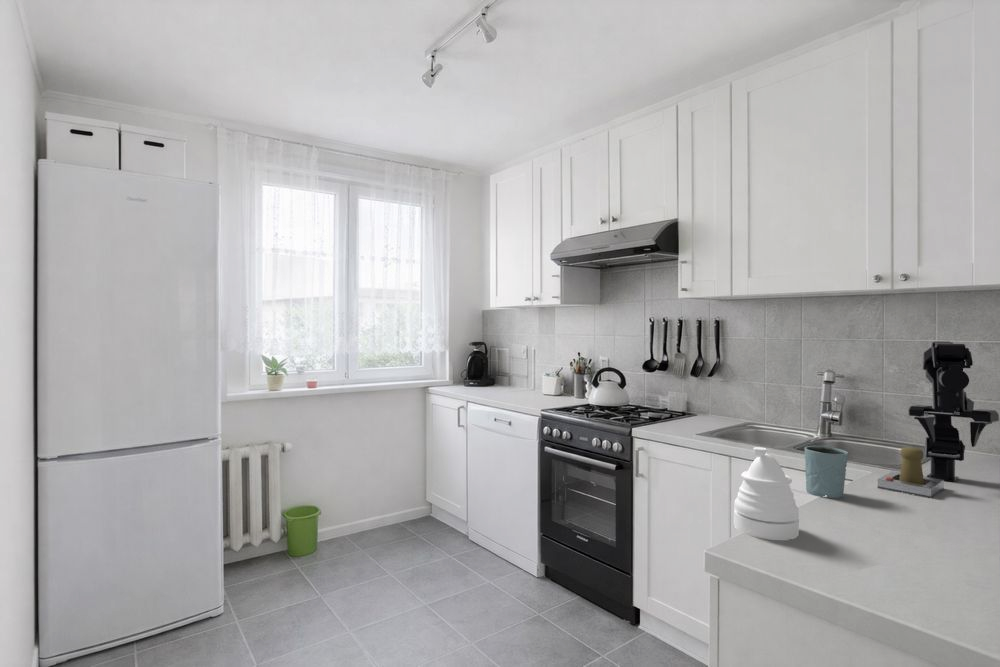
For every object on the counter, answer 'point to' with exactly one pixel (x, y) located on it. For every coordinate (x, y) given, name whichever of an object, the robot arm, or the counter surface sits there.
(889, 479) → the socket plate
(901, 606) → the counter surface
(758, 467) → the honey pot
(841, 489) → the teal cup
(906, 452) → the cork
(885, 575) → the counter surface
